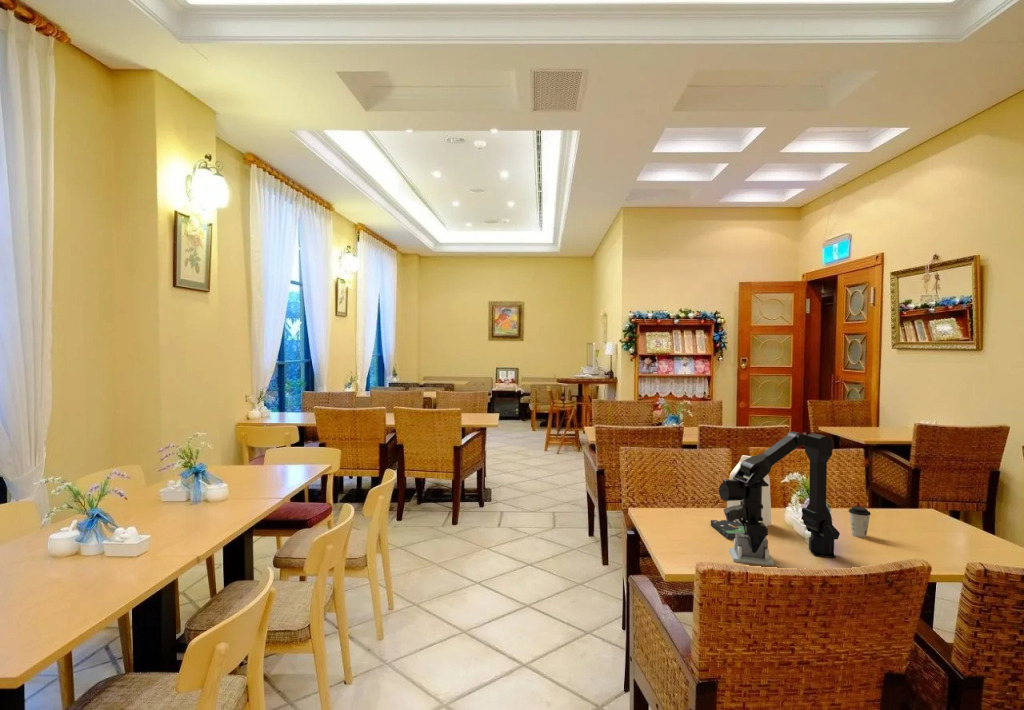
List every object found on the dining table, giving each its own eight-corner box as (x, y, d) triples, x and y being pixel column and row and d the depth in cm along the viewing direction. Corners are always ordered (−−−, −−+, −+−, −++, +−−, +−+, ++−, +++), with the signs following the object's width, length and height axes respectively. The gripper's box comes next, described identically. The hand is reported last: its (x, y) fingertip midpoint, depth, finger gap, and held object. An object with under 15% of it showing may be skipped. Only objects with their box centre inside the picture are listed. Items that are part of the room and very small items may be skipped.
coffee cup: (873, 539, 193) (874, 512, 193) (852, 538, 194) (853, 510, 194) (865, 533, 200) (865, 506, 199) (844, 531, 201) (845, 505, 201)
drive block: (764, 553, 176) (764, 535, 175) (767, 559, 171) (768, 540, 171) (735, 550, 178) (735, 532, 178) (737, 556, 173) (737, 537, 173)
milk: (771, 524, 208) (772, 457, 207) (754, 530, 201) (755, 461, 201) (742, 516, 218) (744, 452, 217) (725, 521, 211) (727, 455, 211)
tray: (767, 554, 177) (767, 541, 177) (774, 565, 169) (774, 551, 168) (728, 551, 180) (729, 537, 180) (733, 561, 171) (733, 547, 171)
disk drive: (709, 527, 206) (727, 540, 191) (709, 519, 206) (727, 533, 191) (736, 526, 206) (755, 540, 192) (736, 519, 206) (755, 532, 192)
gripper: (721, 490, 185) (720, 535, 185) (730, 505, 167) (729, 555, 167) (756, 492, 182) (755, 538, 183) (769, 508, 164) (768, 559, 165)
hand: (751, 547), depth 174 cm, fingers open, 9 cm apart
